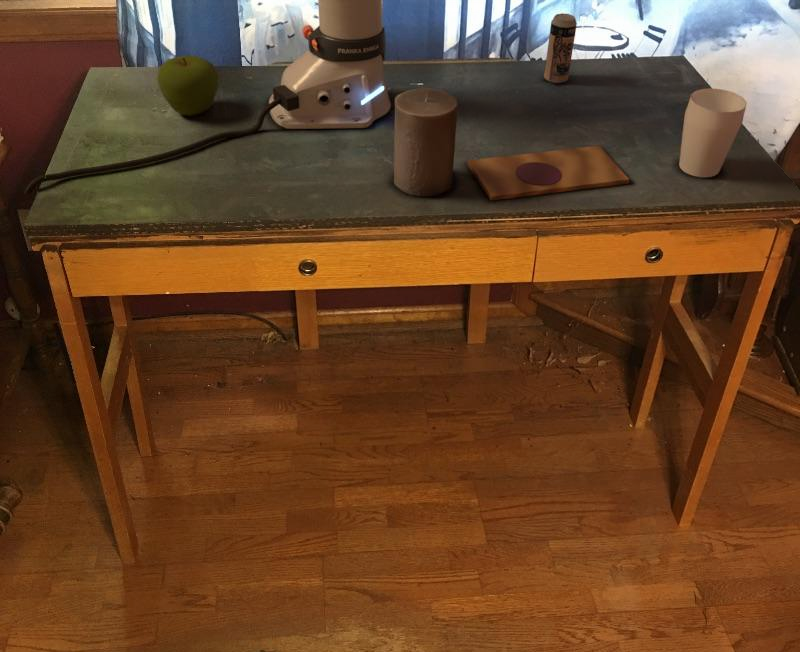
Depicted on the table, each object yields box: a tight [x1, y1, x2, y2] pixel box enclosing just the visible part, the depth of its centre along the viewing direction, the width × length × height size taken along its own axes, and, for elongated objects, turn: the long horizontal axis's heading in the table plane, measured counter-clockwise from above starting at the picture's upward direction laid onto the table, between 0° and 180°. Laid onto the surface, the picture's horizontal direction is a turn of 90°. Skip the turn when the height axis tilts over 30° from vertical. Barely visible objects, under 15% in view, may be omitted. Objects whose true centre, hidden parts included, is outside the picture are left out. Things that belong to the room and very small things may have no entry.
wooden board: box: [467, 145, 630, 201], centre depth 142 cm, size 24×12×1 cm, turn 105°
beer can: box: [543, 13, 578, 84], centre depth 166 cm, size 5×5×12 cm
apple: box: [157, 55, 219, 117], centre depth 153 cm, size 11×10×10 cm
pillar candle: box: [393, 88, 458, 198], centre depth 135 cm, size 10×10×15 cm
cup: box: [678, 87, 747, 178], centre depth 141 cm, size 9×9×12 cm
